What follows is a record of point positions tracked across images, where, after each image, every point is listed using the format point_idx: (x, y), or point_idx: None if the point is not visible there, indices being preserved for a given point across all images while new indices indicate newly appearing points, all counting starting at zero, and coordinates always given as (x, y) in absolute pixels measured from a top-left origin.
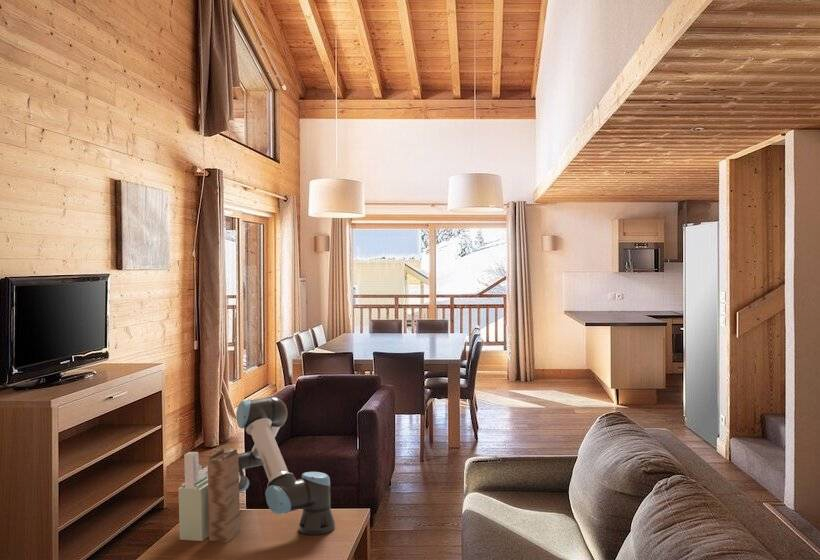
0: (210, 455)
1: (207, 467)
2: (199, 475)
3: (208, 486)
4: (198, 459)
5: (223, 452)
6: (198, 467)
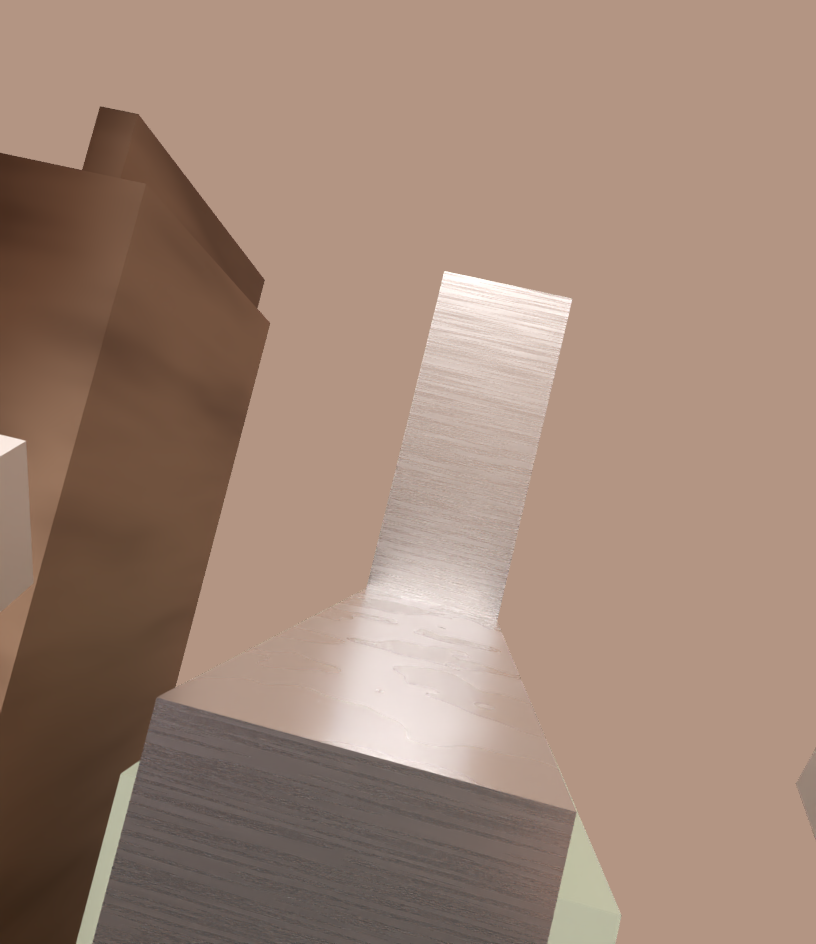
0: (252, 268)
1: (446, 685)
2: (372, 593)
3: (189, 616)
4: (421, 366)
5: (92, 172)
6: (396, 470)
